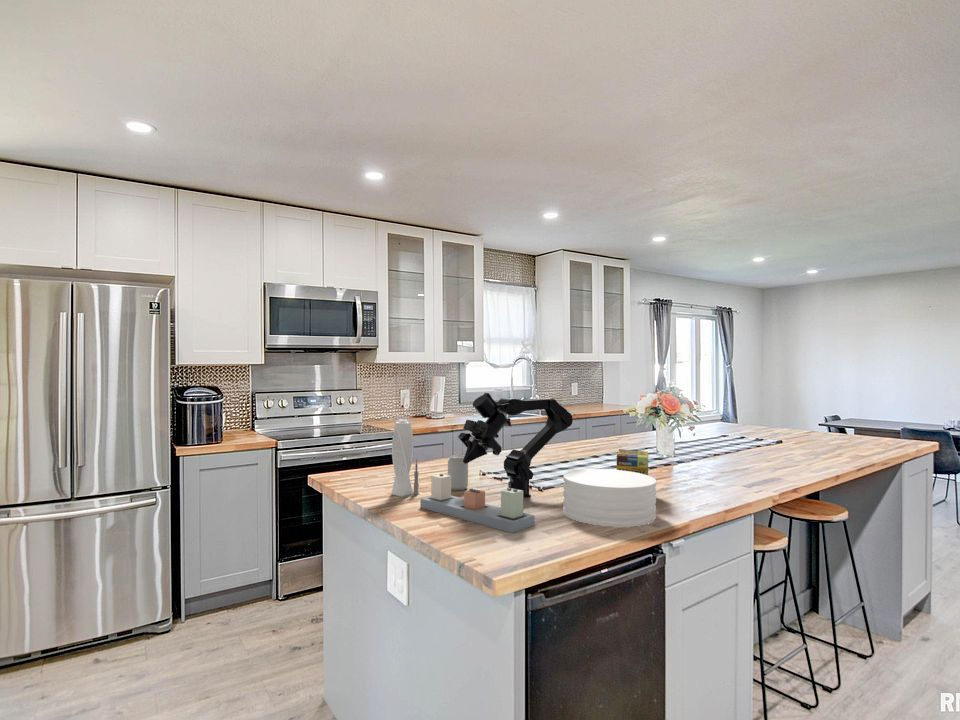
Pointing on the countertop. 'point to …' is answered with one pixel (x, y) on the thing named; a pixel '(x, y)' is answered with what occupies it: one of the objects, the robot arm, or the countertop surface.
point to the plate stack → (609, 497)
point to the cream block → (441, 486)
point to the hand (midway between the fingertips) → (464, 462)
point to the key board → (478, 514)
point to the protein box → (632, 461)
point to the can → (458, 472)
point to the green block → (511, 503)
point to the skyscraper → (403, 459)
